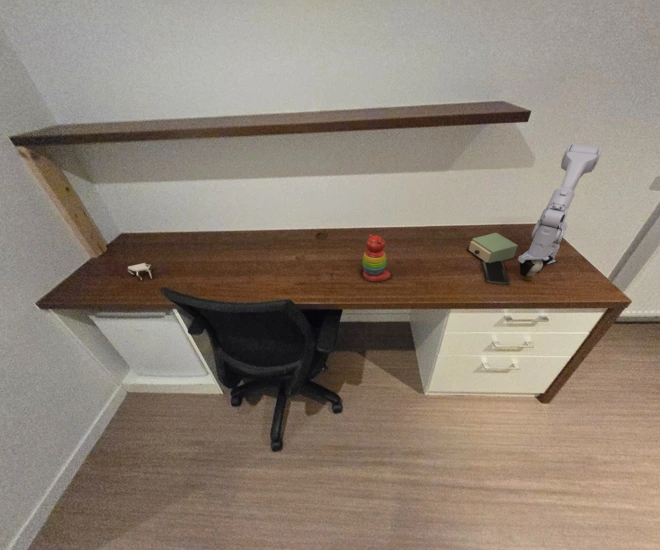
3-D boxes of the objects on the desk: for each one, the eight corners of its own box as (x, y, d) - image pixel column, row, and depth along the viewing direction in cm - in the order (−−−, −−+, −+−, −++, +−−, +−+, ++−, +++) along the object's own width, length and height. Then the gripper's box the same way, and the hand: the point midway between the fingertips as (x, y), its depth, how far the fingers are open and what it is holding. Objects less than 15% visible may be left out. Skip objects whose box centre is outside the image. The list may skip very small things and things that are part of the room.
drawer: (483, 263, 123) (486, 254, 120) (466, 250, 131) (468, 241, 128) (508, 256, 125) (511, 247, 123) (490, 244, 133) (492, 235, 131)
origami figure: (159, 268, 135) (155, 259, 132) (152, 280, 128) (147, 270, 125) (133, 271, 135) (127, 262, 132) (124, 282, 128) (118, 273, 125)
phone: (486, 280, 114) (481, 259, 125) (485, 283, 114) (481, 261, 126) (509, 283, 112) (502, 261, 123) (508, 285, 112) (502, 263, 124)
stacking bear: (392, 277, 120) (396, 238, 109) (371, 285, 116) (373, 246, 106) (377, 264, 128) (378, 226, 117) (356, 271, 124) (356, 234, 114)
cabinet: (488, 264, 123) (492, 252, 120) (469, 250, 132) (472, 238, 129) (513, 257, 126) (517, 245, 122) (492, 244, 135) (496, 232, 131)
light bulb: (536, 285, 111) (546, 263, 105) (518, 283, 112) (527, 261, 106) (534, 276, 115) (543, 254, 109) (516, 273, 117) (525, 252, 111)
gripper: (535, 252, 99) (522, 284, 107) (569, 243, 102) (553, 274, 110) (518, 242, 105) (506, 273, 113) (551, 233, 108) (537, 264, 116)
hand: (529, 273), depth 112 cm, fingers closed on light bulb, 5 cm apart
